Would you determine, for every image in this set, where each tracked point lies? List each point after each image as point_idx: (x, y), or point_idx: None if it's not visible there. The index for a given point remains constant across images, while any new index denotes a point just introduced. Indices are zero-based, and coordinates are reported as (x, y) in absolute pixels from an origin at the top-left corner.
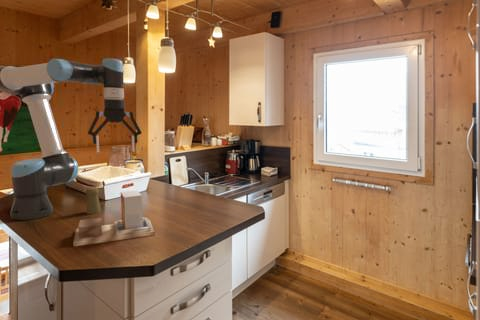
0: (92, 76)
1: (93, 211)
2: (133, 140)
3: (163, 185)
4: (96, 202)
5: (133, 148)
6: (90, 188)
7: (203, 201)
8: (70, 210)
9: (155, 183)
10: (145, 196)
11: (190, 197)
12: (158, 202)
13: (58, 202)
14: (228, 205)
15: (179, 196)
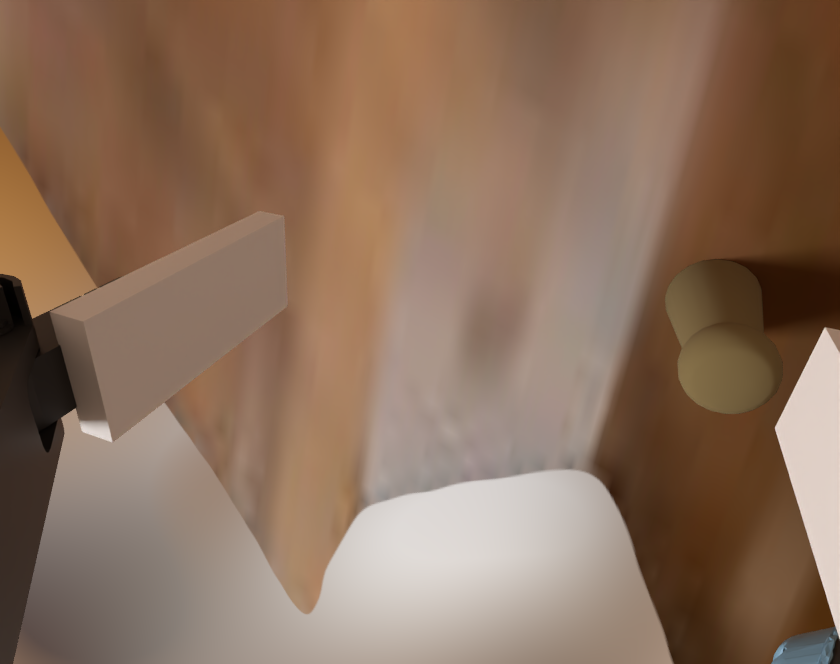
0: None
1: (726, 268)
2: (143, 277)
3: (276, 540)
4: (705, 299)
5: (245, 229)
6: (750, 375)
7: (122, 175)
8: None
9: (306, 588)
10: (381, 424)
11: None
12: (336, 285)
13: None
14: (7, 29)
15: None
